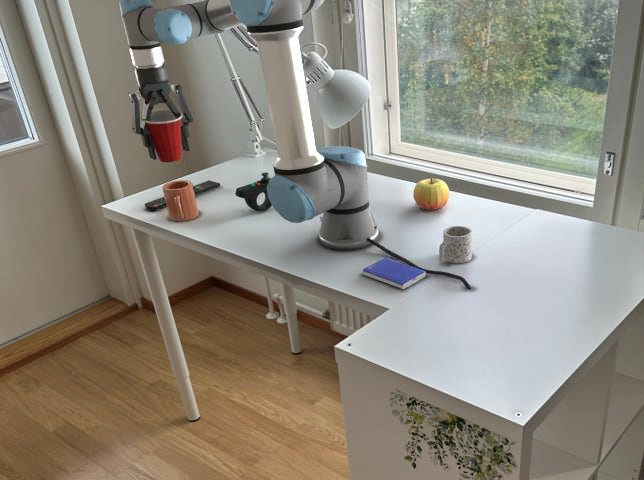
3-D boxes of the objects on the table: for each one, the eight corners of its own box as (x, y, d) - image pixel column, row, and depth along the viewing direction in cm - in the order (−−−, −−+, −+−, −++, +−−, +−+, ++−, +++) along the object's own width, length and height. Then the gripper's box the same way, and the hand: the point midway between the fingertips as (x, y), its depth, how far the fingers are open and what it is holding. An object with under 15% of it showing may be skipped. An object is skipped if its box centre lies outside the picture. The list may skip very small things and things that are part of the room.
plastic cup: (166, 168, 186) (155, 121, 180) (142, 161, 192) (130, 116, 185) (200, 157, 193) (190, 111, 187) (175, 150, 199) (165, 106, 192)
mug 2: (455, 249, 176) (454, 223, 172) (477, 255, 172) (477, 230, 168) (429, 263, 170) (428, 237, 166) (451, 270, 166) (451, 244, 162)
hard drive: (362, 269, 165) (402, 283, 158) (386, 256, 170) (425, 270, 163) (362, 275, 166) (402, 290, 159) (386, 262, 171) (426, 276, 164)
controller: (282, 206, 204) (277, 172, 199) (245, 219, 198) (239, 184, 192) (274, 203, 207) (269, 169, 202) (237, 215, 200) (230, 180, 195)
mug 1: (170, 212, 204) (163, 182, 199) (199, 209, 205) (192, 178, 200) (167, 227, 195) (159, 195, 190) (197, 223, 196) (190, 192, 191)
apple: (443, 198, 205) (442, 171, 200) (453, 210, 197) (453, 182, 192) (410, 203, 203) (409, 175, 198) (419, 215, 195) (418, 187, 190)
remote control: (220, 187, 220) (219, 183, 219) (154, 212, 205) (153, 208, 204) (209, 184, 223) (209, 180, 222) (143, 208, 208) (142, 204, 207)
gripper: (182, 56, 188) (199, 142, 200) (101, 70, 176) (125, 160, 189) (195, 60, 183) (212, 147, 195) (113, 74, 171) (137, 167, 184)
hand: (170, 154), depth 192 cm, fingers closed on plastic cup, 9 cm apart
